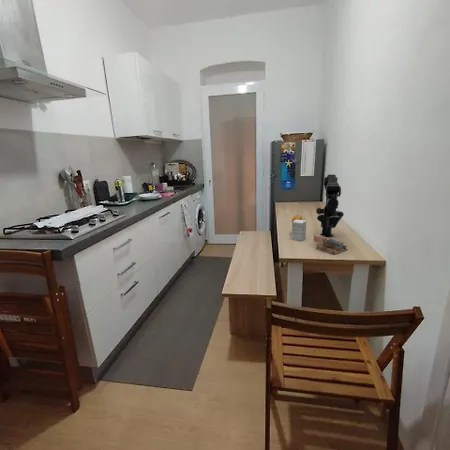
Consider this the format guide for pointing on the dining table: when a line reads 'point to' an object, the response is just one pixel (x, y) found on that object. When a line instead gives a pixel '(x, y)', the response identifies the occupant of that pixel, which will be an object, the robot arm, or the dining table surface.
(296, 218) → the french fries
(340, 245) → the tall slate pillar
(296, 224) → the supplement box
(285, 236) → the dining table surface
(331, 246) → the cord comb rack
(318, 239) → the tall terracotta pillar
